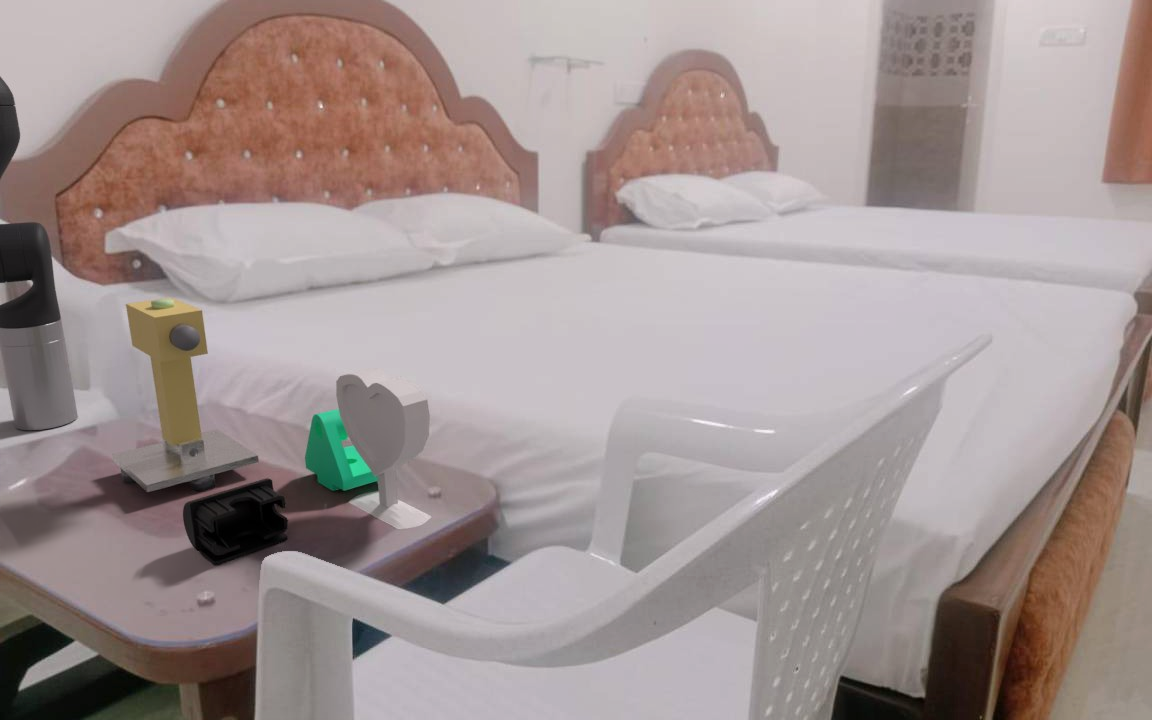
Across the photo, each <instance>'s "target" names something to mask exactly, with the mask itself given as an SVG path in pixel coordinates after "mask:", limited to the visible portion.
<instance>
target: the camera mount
mask: <svg viewBox="0 0 1152 720" xmlns="http://www.w3.org/2000/svg"><path fill="white" fill-rule="evenodd" d="M348 438H349V437H348V435H347V432H346V430H345V427H344V425H343V422H342V419H341V417H340V413H339V408H336V409H333V410H328V411H324V412H320V413H316V414H314V415H313V416H312V419H311V424H310V429H309V434H308V440H307V445H306V450H305V455H304V461H305V462H304V463H305V469H307V470H309V471H310V472H312V473H314V474H315V475H316V477H317V483H318V484H320V485H322V486H324V487H325V488H327V489H328V490H330V491H332V492H333V491H338V490H341V491H344V492H345V491H348V490H352V489H354V488H358V487H361V486H364V485H368V484H371V483H375V482H378V476H374V475H373V473H372V472H371V470H370V469H369V467H368V466H367V464H366V463H365V462H364V460H363V459H362V457H361V456H360V455H359V453H358V452H357V450H356V449H355V447H354V445H350V446H343V443H342V442H343V441H346V440H348Z"/></svg>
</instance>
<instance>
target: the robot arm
mask: <svg viewBox="0 0 1152 720" xmlns="http://www.w3.org/2000/svg"><path fill="white" fill-rule="evenodd" d="M15 101H16V100H15V97H14V94H13V91H12V90H11V89H10V87H9V85H8V84H7V83H6V81H5V80H4V79H3V78H2V77H1V76H0V180H1V179H2V177H3V175H4V173H6V170H7V169H8V166H10V163H11V161H12V160H13V157H14V156H15V154H16V151H17V149H18V147H19V145H20V144H19V143H20V140H21V131H20V125H19V120H18V113H17V108H16V107H17V106H16V102H15ZM53 267H54V266H53V256H52V248H51V242H50V237H49V235H48V232H47V230H46V228H45V226H43V224H41V223H40V222H36V221H35V222H34V221H29V222H26V221H25V222H15V223H14V222H12V223H11V222H10V223H1V224H0V284H3V283H4V284H7V283H16V282H26V281H31V282H32V285H31V286H30V288H29V289H28V290H26V291H25V292H24V293H22V294H21V295H19V296H18V297H15V298H13V299H11V300H9V301H6V302H4V303H2V304H0V355H1V361H2V364H3V365H2V366H3V370H4V371H3V372H4V374H5V380H6V385H7V386H6V387H7V391H8V395H9V396H8V397H9V400H10V401H9V402H10V406H11V412H12V416H13V422H14V427H15V428H16V429H17V430H23V431H40V430H41V431H42V430H47V429H53V428H57V427H61V426H65V425H67V424H69V423H72V422H74V421H76V420H77V419H78V417H79V415H78V409H77V402H76V399H75V398H76V397H75V391H74V384H73V381H72V380H73V379H72V373H71V368H70V367H71V366H70V362H69V356H68V350H67V344H66V339H65V334H64V328H63V322H62V316H61V311H60V307H59V303H58V296H57V292H56V282H55V276H54V275H55V274H54V268H53Z"/></svg>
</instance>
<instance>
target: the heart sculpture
mask: <svg viewBox="0 0 1152 720" xmlns="http://www.w3.org/2000/svg"><path fill="white" fill-rule="evenodd" d="M335 383H336V385H335V386H336V390H335V391H336V392H335V393H336V400H337V406H338V409H339V413H340V417H341V419H342V422H343V425H344V427H345V430H346V432H347V435H348V438H349V440H350V442H351V443H352V446H354V447H355V449H356V450H357V452H358V453H359V455H360V456H361V457H362V459H363V460H364V462H365V463H366V464H367V466H368V467H369V469H370V470H371V472H372V473H373V475H374V476H378V481H377V487H378V490H376V491H371V492H364V493H360V494H358V495H357V496H355V497H353V498H352V499H350V500H349V501H348V503H349V504H351V505H352V506H355V508H358V509H360V510H362V511H363V512H365V513H367V514H369V515H371V516H373V517H374V518H377V519H379V520H380V521H382V522H384V523H386V524H388V525H390V526H391V527H394V528H396V529H397V530H406V529H412V528H417V527H421V526H422V525H424V524H425V523H427V522H428V521H429V520H430V519H431V518H432V517H433V516H431V515H430V514H428V513H426V512H424V511H422V510H419V509H418V508H417V507H414V506H412V505H410V504H407V503H406V502H404V501H402V500H400V499H399V498H398V485H397V472H396V471H397V470H399V468H401V467H403V466H404V465H405V464H407V463H409V462H411V461H413V460H415V458H417V457H418V456H419V455H420V454H421V453H422V452H423V451H424V448H425V446H426V443H427V441H428V438H429V435H430V419H431V418H430V417H431V414H430V408H429V402H428V399H427V397H426V395H425V393H424V392H423V391H422V389H420V388H419V387H418V386H417V385H416V384H415V383H414V382H412V381H411V380H409V379H408V378H406V377H402V376H398V377H394V378H390V377H389V375H387V373H386V372H385V371H383V370H382V369H378V368H367V369H363V370H358V371H355V372H350V373H347V374H343V375H340V376H339V377H338V379H337V380H336V382H335Z"/></svg>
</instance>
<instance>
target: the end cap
mask: <svg viewBox="0 0 1152 720" xmlns="http://www.w3.org/2000/svg"><path fill="white" fill-rule="evenodd" d="M286 505H287V502H286V498H285V496H284V495H282V494H280V493H279V492H277V491H276V490H275V489H274V485H273V479H272V478H268V477H267V478H262V479H259V480H257V481H253V482H252V481H251V482H249V483H246V484H242V485H239V486H236V487H233V488H229V489H227V490H223V491H220V492H219V491H218V492H216V493H213V494H208V495H206V496H203V497H198V498H196V499H193V500H190V501H187V502H186V503H185V504H184V506H183V510H182V519H183V526H184V530H185V531H186V532H185V533H186V535H187V538H188V540H189V543H190V544H191V546H192V547H193V549H194V550H195V551H196V552H199V554H200V555H201V556H202V557H203V558H204V559H205V560H207V561H208V562H209V563H210V564H211V565H212V566H222V565H224V564H227V563H230V562H233V561H235V560H238V559H241V558H244V557H247V556H249V555H252V554H256V553H258V552H261V551H263V550H266V549H269V548H273V547H274V546H277V545H278V546H279V545H281V544H282V543H286V542H287V541H288V534H287V533H286V532H287V531H288V528H289V526H288V525H289V524H288V522H289V520H288V518H287V517H286V516H285V515H283V514H282V513H280V512H278V510H277V508H276V506H277V507H279V508H281V509H282V510H283V509H287V507H286Z"/></svg>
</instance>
